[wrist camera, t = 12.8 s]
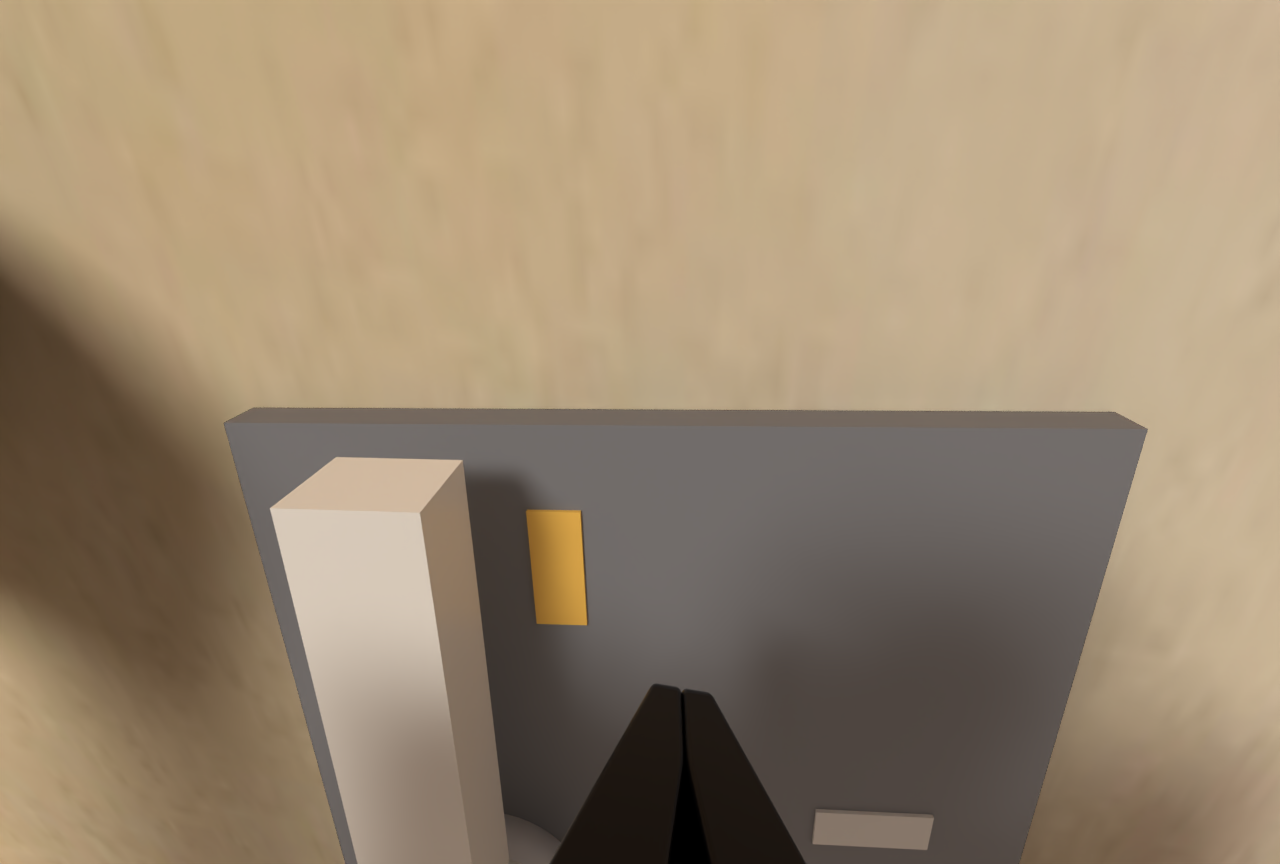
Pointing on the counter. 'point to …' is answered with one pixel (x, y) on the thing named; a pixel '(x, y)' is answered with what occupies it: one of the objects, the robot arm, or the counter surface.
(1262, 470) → the counter surface
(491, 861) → the lever switch
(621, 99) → the counter surface
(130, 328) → the counter surface
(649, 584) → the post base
